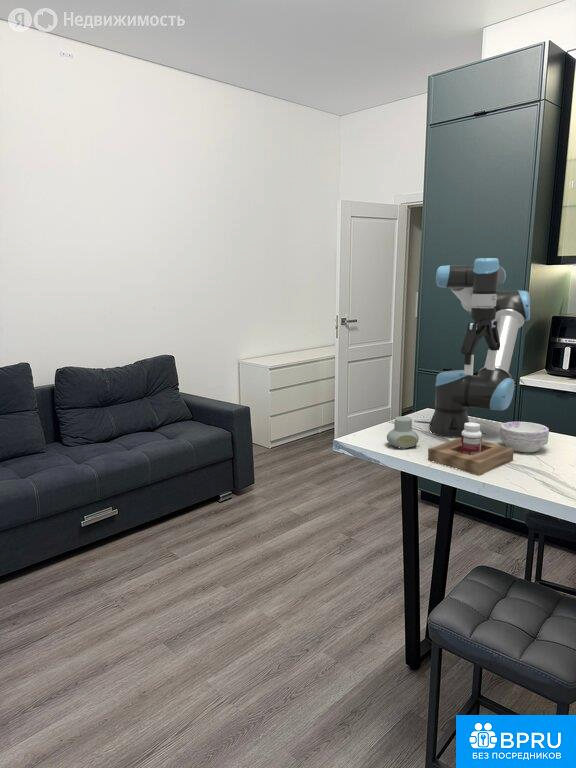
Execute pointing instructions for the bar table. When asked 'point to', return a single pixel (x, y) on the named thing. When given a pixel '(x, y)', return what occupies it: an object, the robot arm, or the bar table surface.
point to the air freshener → (402, 433)
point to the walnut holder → (473, 464)
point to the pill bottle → (471, 439)
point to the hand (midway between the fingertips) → (479, 372)
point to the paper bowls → (524, 436)
